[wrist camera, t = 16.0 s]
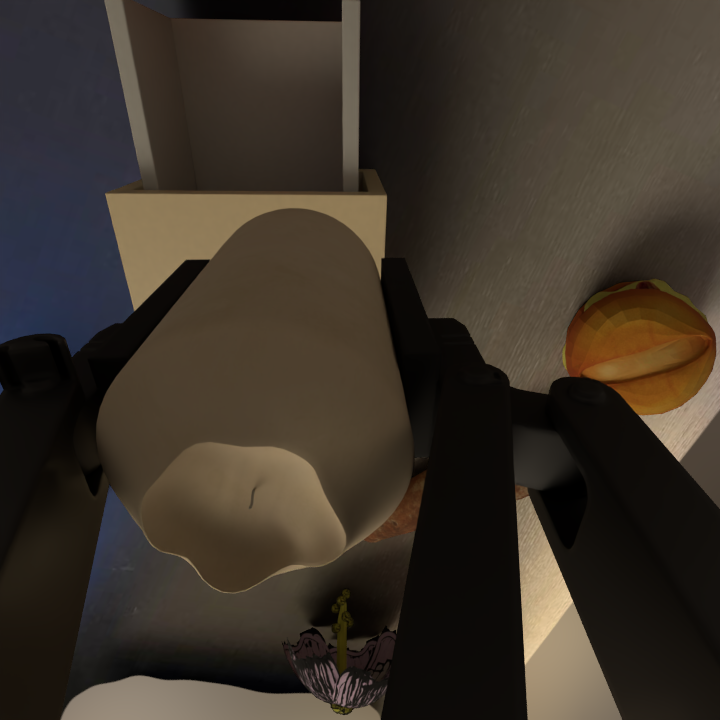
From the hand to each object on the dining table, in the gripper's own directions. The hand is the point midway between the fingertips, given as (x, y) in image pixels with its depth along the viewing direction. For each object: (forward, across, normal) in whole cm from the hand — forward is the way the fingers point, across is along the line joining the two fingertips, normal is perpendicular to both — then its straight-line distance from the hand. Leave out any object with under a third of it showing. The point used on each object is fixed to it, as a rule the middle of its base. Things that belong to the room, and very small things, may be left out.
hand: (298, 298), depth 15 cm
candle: (0, 0, 0) cm, 0 cm away
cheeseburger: (+19, +23, -11) cm, 32 cm away
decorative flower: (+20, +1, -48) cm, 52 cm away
